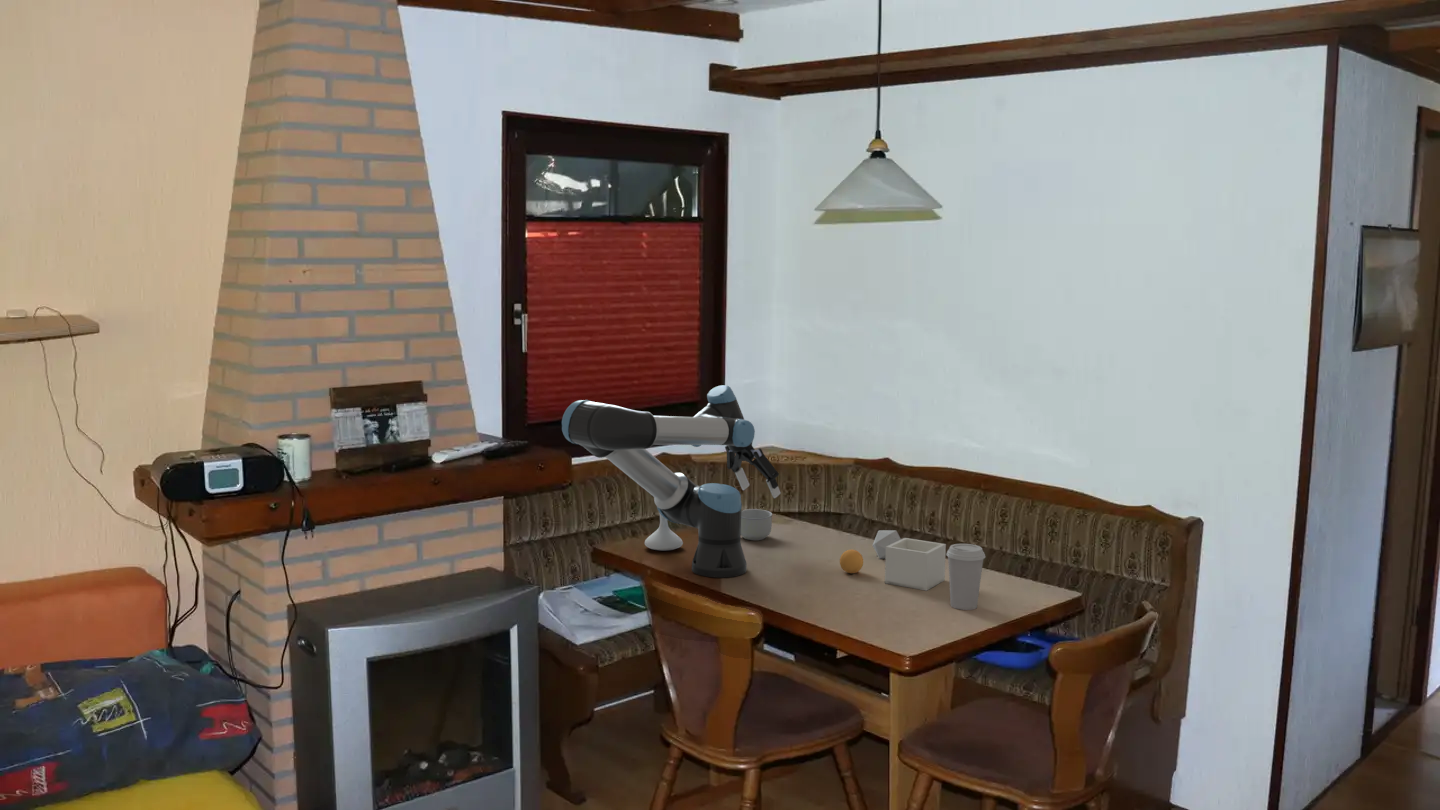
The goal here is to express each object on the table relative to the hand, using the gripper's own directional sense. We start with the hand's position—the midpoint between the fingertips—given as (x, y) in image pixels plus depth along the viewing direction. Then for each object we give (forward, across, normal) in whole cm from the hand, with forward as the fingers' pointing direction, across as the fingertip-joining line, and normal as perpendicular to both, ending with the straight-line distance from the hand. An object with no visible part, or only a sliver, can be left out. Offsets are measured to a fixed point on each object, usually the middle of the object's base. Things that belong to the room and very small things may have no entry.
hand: (761, 491), depth 351 cm
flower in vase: (+2, +13, +31) cm, 34 cm away
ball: (+12, -39, +10) cm, 42 cm away
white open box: (+15, -56, +3) cm, 58 cm away
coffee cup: (+12, -78, +10) cm, 79 cm away
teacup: (+16, +8, +5) cm, 19 cm away
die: (+23, -34, -8) cm, 42 cm away
